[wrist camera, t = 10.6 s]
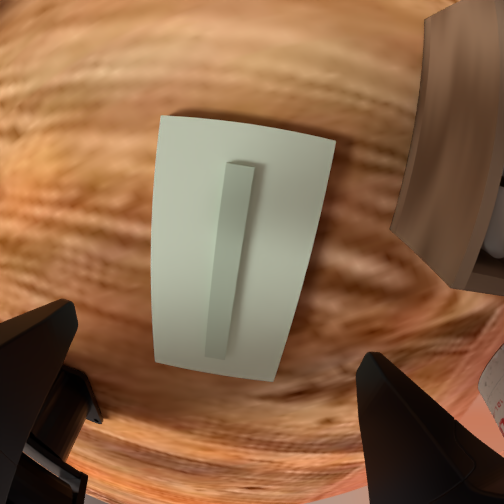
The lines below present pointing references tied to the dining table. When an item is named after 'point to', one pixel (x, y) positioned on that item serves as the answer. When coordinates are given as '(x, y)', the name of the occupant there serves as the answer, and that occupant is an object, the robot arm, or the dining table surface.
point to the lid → (231, 241)
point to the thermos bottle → (494, 387)
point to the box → (458, 150)
